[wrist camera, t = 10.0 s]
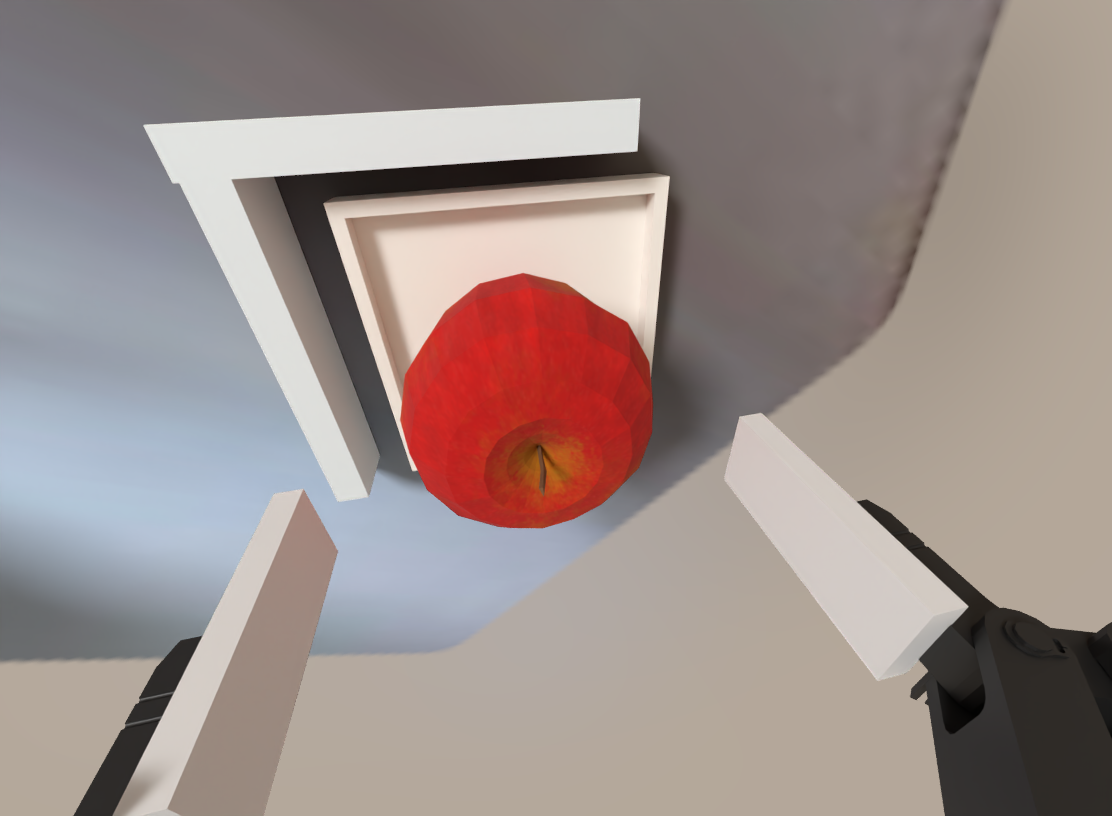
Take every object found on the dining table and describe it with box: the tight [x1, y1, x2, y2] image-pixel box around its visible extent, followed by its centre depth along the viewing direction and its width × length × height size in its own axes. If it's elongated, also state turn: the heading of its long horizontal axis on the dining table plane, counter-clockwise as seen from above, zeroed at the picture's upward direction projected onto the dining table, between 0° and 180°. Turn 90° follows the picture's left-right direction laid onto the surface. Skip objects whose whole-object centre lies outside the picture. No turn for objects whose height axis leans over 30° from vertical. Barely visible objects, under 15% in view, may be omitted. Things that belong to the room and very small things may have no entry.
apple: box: [400, 273, 653, 528], centre depth 17 cm, size 9×9×12 cm
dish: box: [323, 173, 670, 471], centre depth 22 cm, size 14×14×2 cm
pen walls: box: [143, 98, 640, 502], centre depth 20 cm, size 16×17×4 cm
